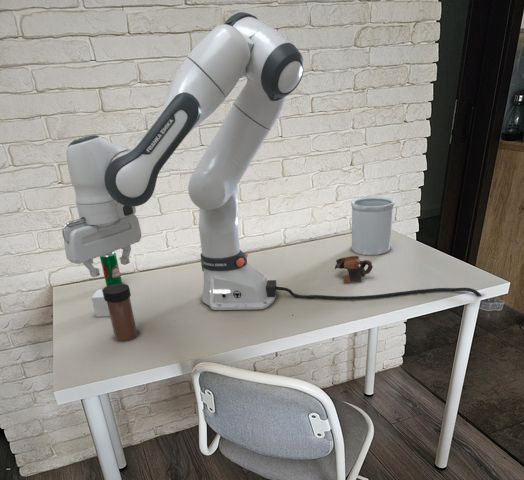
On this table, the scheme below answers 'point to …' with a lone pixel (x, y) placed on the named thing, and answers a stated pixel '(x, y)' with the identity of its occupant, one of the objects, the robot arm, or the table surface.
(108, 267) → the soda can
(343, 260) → the pottery mug
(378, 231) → the utensil holder
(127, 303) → the coffee jar
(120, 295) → the lid
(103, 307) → the white cube
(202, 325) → the table surface
